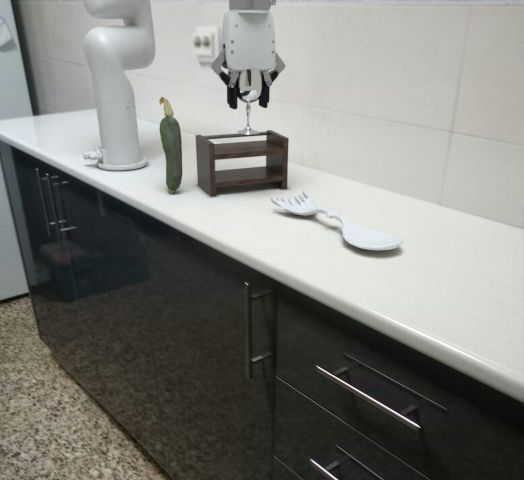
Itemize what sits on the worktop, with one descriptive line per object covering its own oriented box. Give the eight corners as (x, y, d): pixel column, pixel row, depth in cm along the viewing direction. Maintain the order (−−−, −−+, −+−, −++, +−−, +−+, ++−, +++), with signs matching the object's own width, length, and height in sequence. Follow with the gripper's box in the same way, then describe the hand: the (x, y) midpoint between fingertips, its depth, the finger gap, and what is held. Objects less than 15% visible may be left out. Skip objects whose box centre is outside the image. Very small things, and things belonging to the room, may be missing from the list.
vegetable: (187, 192, 130) (182, 96, 120) (179, 197, 127) (172, 99, 116) (169, 190, 131) (163, 94, 121) (160, 195, 128) (153, 97, 118)
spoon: (303, 204, 123) (304, 188, 121) (412, 253, 100) (415, 233, 98) (268, 211, 119) (268, 194, 117) (373, 263, 96) (375, 243, 94)
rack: (210, 196, 128) (209, 143, 122) (197, 185, 135) (195, 135, 130) (287, 188, 134) (288, 138, 128) (270, 178, 142) (271, 129, 136)
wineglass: (258, 136, 117) (259, 70, 111) (231, 134, 118) (230, 69, 112) (264, 130, 122) (266, 67, 116) (237, 128, 123) (237, 66, 117)
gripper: (283, 4, 114) (279, 103, 123) (198, 2, 108) (201, 106, 118) (299, 5, 108) (294, 109, 117) (211, 3, 102) (213, 112, 112)
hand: (248, 106), depth 117 cm, fingers closed on wineglass, 5 cm apart
